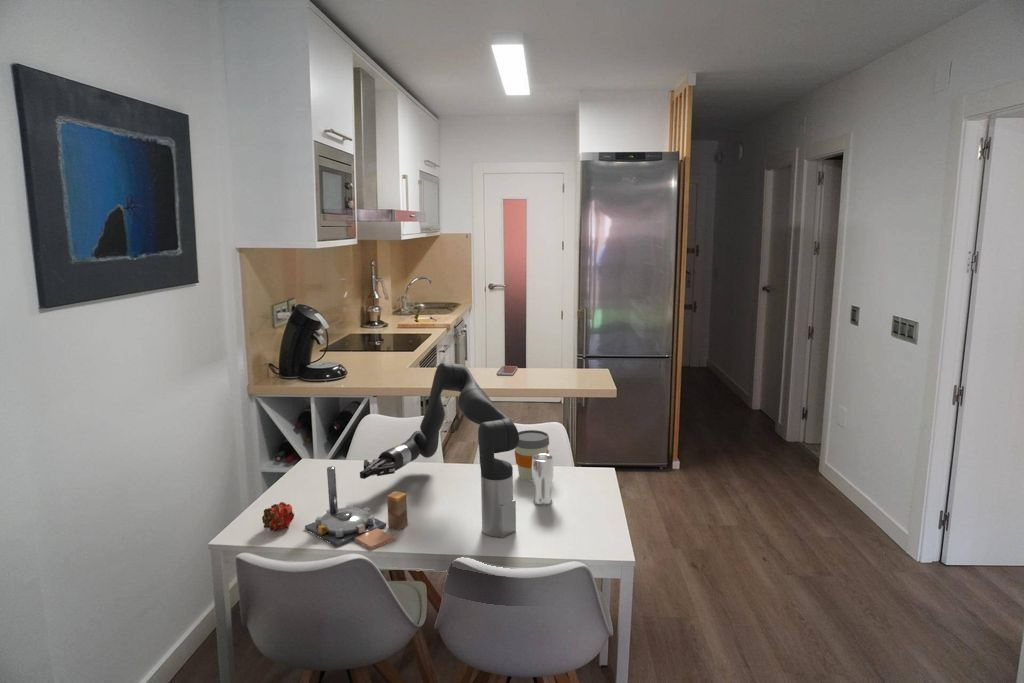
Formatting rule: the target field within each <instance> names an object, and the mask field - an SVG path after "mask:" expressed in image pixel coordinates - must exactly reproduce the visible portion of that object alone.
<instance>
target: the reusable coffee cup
mask: <svg viewBox="0 0 1024 683" xmlns="http://www.w3.org/2000/svg"><path fill="white" fill-rule="evenodd" d="M518 434H519V443H518V446H517V447H516V448H515V449H514V458H515V465H517V471H518V477H519V478H520V480H523V481H528V482H533V478H532V457H533V456H534V455H537V454H548V455H549V452H550V451H549V444H550V437H549V434H548V432H545V431H542V430H536V429H535V430H532V429H528V430H520V431H518Z"/></svg>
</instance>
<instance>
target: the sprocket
mask: <svg viewBox="0 0 1024 683" xmlns="http://www.w3.org/2000/svg"><path fill="white" fill-rule="evenodd" d="M326 475H327V476H326V477H327V488H328V489H327V490H328V491H327V492H328V506H329V507H328V508H329V509H327V510H326V513H325V514H323V515H322V516H316V517H315V521H314V522H316V526H318V533H320V534H322V535H323V534H325V533H329V534H335V535H336V537H343V536H344V534H350V533H354V532H357V533H359V534H360V533H362V532H365V527H367V526H368V525H371V524H374V522H375V518H376V517H375V515H374V514H372V508H369V507H364V508H360V507H355V505H353V504H351V505H349V504H348V505H346V507H341V508H340V507H339V506H338V495H337V494H338V491H337V477H336V466H327V467H326ZM338 507H339V508H338Z"/></svg>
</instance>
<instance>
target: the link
mask: <svg viewBox="0 0 1024 683" xmlns="http://www.w3.org/2000/svg"><path fill="white" fill-rule="evenodd" d="M407 501H408V500H407V493H405V492H402V491H396V490H395V491H393V492H391V493H389V494H388V495H386V502H387V519H388V520H387V521H388V528H389V529H392V528H393V529H392V530H395V531H401V530H403V529H404V528H405V527H407V526H408V525H409V524H408V506H407V504H408V502H407Z"/></svg>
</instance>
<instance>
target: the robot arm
mask: <svg viewBox="0 0 1024 683" xmlns="http://www.w3.org/2000/svg"><path fill="white" fill-rule="evenodd" d="M433 376H434V377H433V380H432V384H431V389H430V394H429V399H428V403H427V407H426V410H425V412H424V415H423V418H422V420H421V423H420V426H419V428H420V429H419V430H416V431H414V432H413V433H412V434H411V436H409V438H408V439H406V440H405V441H404V442H402V443H401V444H397V445H394V446H393V447H391V448H389V449H386V450H385V451H382V452H381V453H380V454H379V456H378V458H376V459H373V460H372V461H369V460H368V459H364V460H363V470H361V471H360V472H359V478H360V479H364V480H365V479H367V478H369V477H374V476H376V477H381V476H386V475H392V474H395V472H396V471H398V470H400V469H401V468H404V467H405V466H406V465H408V464H409V463H411V462H413V461H414V460H416V459H418V458H419V456H420V455H421V456H422V457H423V458H426V459H427V458H428V459H429V458H431V457H433V456H434V455H435V454H436V453H437V450H438V448H439V438H440V430H441V428H442V425H443V423H444V421H445V415H446V412H445V407H444V403H443V401H442V398H441V397H442V394H443V393H442V392H443V391H449V392H450V391H453V392H459V393H460V394H459V396H458V400H457V403H458V404H457V405H458V407H459V409H460V410H461V412H462V413H463V415H464V416H465V417H466V418H467V419H468V420H469V421H470V422H473V423H475V424H477V425H479V426H478V429H477V430H478V431H477V441H478V451H479V452H478V453H479V466H480V487H481V488H480V494H481V497H480V498H481V503H480V504H481V530H482V532H483V533H484V534H485V535H487V536H488V537H489V536H490V537H495V538H496V537H497V538H502V539H503V538H505V537H506V536H509V535H510V534H512V533H515V532H516V531H517V515H516V513H517V508H516V506H517V505H516V500H515V499H514V489H513V488H514V484H513V483H514V482H513V481H514V480H513V479H514V476H513V473H514V470H513V468H514V467H513V464H512V463H510V461H507V460H503V459H499V458H495V454H499V453H505V452H510V451H513V450H515V448H516V447H517V446H518V443H519V434H518V432H519V431H518V429H517V426H516V425H515V423H514V422H513V421H512V419H511V418H510V417H508V416H507V415H506V414H505V413H503V412H502V411H501V410H500V409H499V408H498V407H497V405H495V403H493V402H492V400H491V398H490V397H489V396H488V395H487V394H486V392H485V391H484V390H483V389H482V388H481V387H480V385H479V384H478V383H477V381H476V380H475V378H474V376H473V375H472V373H471V371H470V369H469V368H468V367H467V366H466V365H464V364H461V363H460V364H459V363H451V362H441V363H439V365H438V366H437V367H436V370H435V372H434V375H433Z"/></svg>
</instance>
